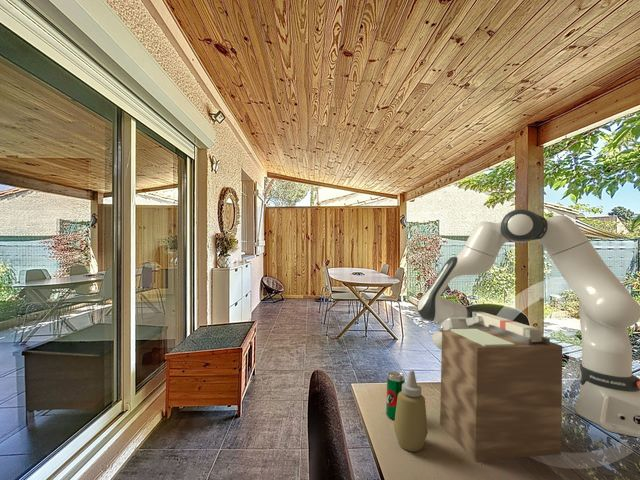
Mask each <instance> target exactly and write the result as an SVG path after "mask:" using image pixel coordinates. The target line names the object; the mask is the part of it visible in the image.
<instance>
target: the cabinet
mask: <svg viewBox="0 0 640 480" xmlns="http://www.w3.org/2000/svg"><path fill="white" fill-rule="evenodd" d="M481 331H483V332H486V333H488V334H491V335H493V336H496V337H498V338H501V339H503V340H506V341H508V342H511V343H513V344H515V346H483V345H481V344H479V343H476V342H474V341H472V340H470V339H468V338H466V337H464V336H461V335H459V334H457V333H455V332H453V331H451V330H442V350H441V358H440V359H441V360H440V361H441V362H440V364H441V365H440V367H441V368H440V405H439V406H440V407H439V408H440V411H439V425H441V427H442V428H443V429H444V430H445V431H446V432H447V433H448V434H449V435H450V436H451V437H452V438H453V439H454V440H455V441H456V443H457V444H458V445H459V446H460V447H461V448H462V449H463V450H464V451H465V452H466V453H467V454H468V455H469V456H470V457H471V458H472V459H473V460H474V462H478V461H480V460H481V461H491V460H502V459H516V458H525V457H526V458H528V457H538V456H539V457H540V456H550V455H562V422H563V421H562V418H563V417H562V410H563V409H562V408H563V407H562V406H563V402H562V401H563V398H562V397H563V345H561V344H558V343H555V342H553V341H550V340H551V339H550V337H546V336H544V335H542V342H532V339H530V338H527V337H525V336H522V335H519V334H516V333H513V332H511V331H508V330H505V329H502V328H499V327H496V326H494V325H489V330H481Z"/></svg>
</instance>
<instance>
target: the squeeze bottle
mask: <svg viewBox="0 0 640 480" xmlns="http://www.w3.org/2000/svg"><path fill="white" fill-rule="evenodd" d="M426 410H427V409H426V398H425V396H424V395H423V394H422V387H421V385H420V384H418V383H417V379H416V374H415V371H414V370H409V372H408V376H407V380H406V381H405V383H403V384H402V391H401V392H399V394H398V397H397V405H396V413H395V420H394V423H393V428H394V432H395V436H396V439H397V443H398V446H400V447H401V448H402V449H404V450H406V451H409V452H419V451H421V450H422V449H423V446H424V444H425V441H426V439H427V437H428V420H427V419H428V418H427V411H426Z"/></svg>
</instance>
